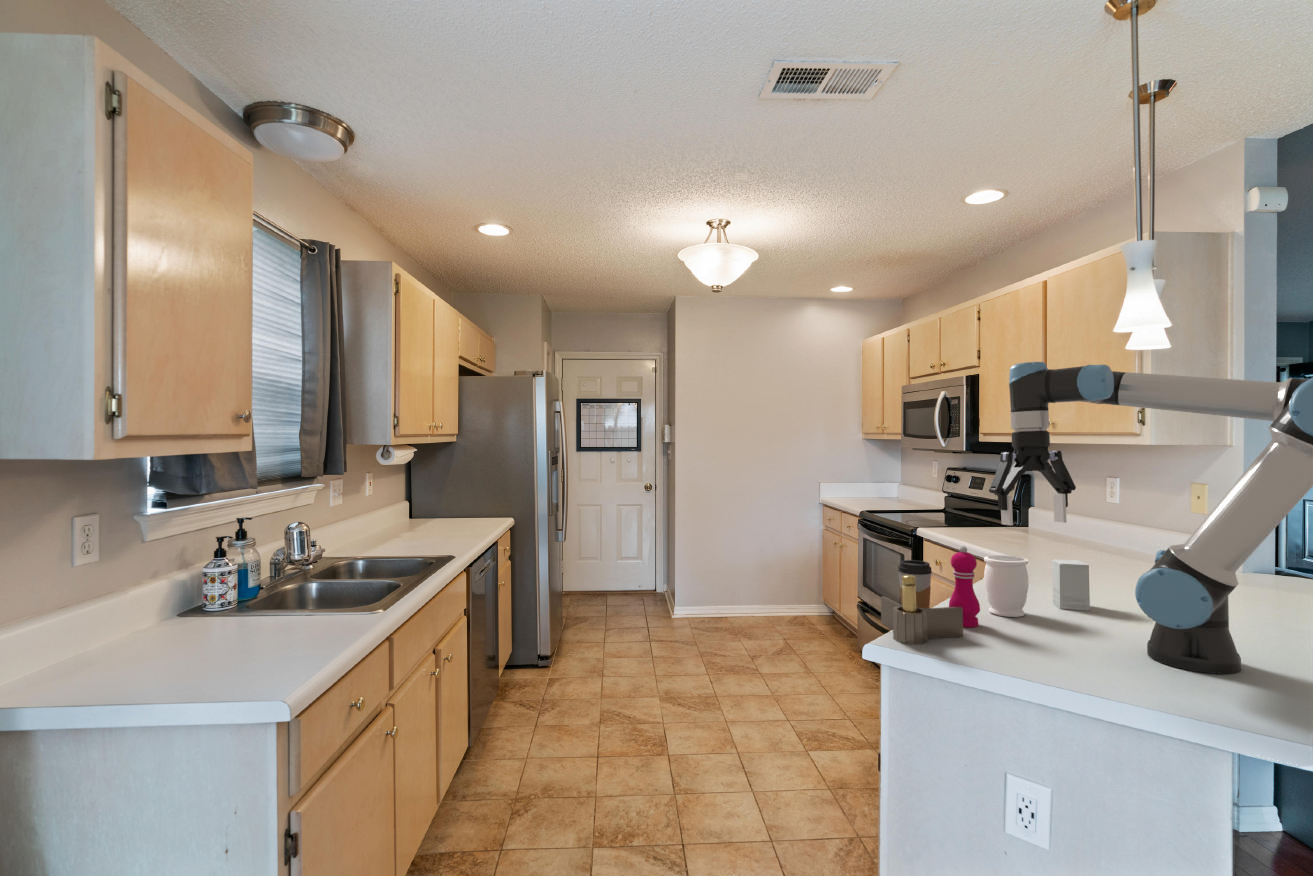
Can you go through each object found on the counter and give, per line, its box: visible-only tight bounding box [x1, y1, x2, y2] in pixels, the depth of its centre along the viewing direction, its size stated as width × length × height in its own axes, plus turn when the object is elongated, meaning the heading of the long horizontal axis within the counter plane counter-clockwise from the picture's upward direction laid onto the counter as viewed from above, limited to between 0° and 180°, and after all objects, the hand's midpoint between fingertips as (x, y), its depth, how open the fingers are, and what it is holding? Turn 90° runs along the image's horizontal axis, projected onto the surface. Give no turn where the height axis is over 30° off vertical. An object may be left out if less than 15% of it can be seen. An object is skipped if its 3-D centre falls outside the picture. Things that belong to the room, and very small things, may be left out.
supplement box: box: [1051, 559, 1091, 612], centre depth 177 cm, size 7×7×13 cm
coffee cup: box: [897, 559, 933, 609], centre depth 166 cm, size 8×8×15 cm
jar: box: [983, 554, 1030, 618], centre depth 171 cm, size 11×10×15 cm
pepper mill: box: [948, 545, 981, 628], centre depth 162 cm, size 7×7×20 cm
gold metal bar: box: [902, 575, 916, 613], centre depth 150 cm, size 3×3×15 cm
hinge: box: [880, 595, 964, 645], centre depth 155 cm, size 17×17×7 cm
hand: (1034, 523), depth 144 cm, fingers open, 13 cm apart
